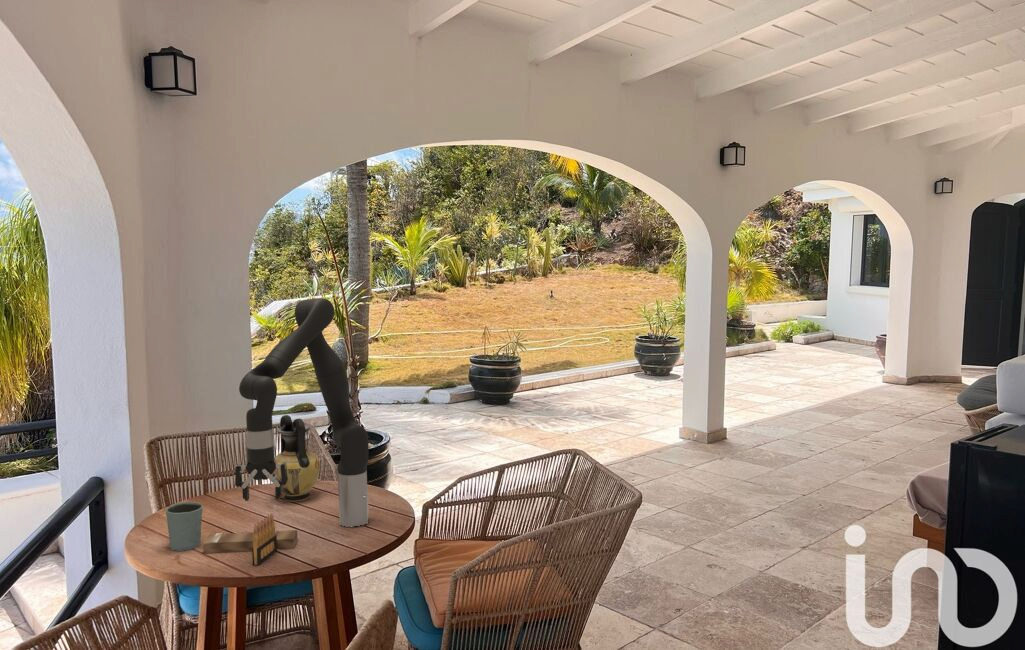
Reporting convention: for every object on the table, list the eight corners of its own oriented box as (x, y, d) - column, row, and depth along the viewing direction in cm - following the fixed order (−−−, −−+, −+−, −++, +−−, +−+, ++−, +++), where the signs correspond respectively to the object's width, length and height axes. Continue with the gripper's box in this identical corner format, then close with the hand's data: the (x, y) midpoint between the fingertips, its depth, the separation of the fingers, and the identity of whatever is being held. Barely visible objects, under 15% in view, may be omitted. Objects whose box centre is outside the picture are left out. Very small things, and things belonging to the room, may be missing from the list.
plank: (297, 539, 228) (297, 529, 228) (293, 548, 221) (293, 537, 221) (210, 544, 225) (209, 533, 225) (203, 553, 218) (202, 542, 218)
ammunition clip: (258, 566, 209) (256, 525, 208) (252, 565, 209) (250, 524, 208) (277, 551, 219) (276, 512, 218) (272, 550, 220) (270, 511, 219)
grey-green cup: (163, 545, 224) (160, 507, 223) (196, 536, 231) (194, 499, 230) (175, 555, 217) (173, 515, 216) (209, 545, 224) (207, 507, 223)
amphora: (261, 499, 265) (258, 417, 262) (300, 487, 279) (297, 409, 276) (292, 509, 255) (288, 424, 252) (331, 496, 268) (328, 415, 265)
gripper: (288, 440, 216) (290, 494, 217) (237, 442, 214) (240, 496, 216) (283, 447, 208) (285, 502, 210) (231, 448, 207) (233, 504, 208)
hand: (262, 499), depth 213 cm, fingers open, 8 cm apart
